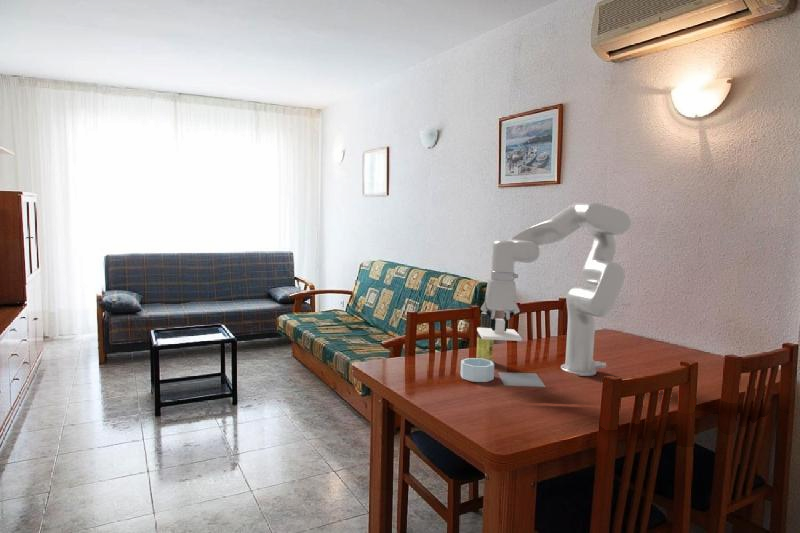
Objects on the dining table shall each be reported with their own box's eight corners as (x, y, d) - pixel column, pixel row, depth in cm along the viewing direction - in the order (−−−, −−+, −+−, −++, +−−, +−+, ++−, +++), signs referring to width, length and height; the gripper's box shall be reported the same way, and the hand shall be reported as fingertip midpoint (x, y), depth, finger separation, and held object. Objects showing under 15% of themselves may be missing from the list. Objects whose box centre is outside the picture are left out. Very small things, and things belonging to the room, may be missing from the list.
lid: (513, 332, 187) (514, 316, 187) (521, 341, 174) (522, 324, 174) (476, 330, 187) (477, 315, 187) (482, 339, 174) (483, 322, 174)
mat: (535, 375, 189) (536, 373, 189) (545, 389, 175) (545, 386, 175) (497, 374, 189) (497, 372, 189) (504, 387, 175) (504, 385, 175)
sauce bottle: (492, 367, 198) (494, 315, 195) (475, 366, 199) (477, 314, 197) (492, 362, 204) (495, 311, 202) (476, 361, 205) (478, 310, 203)
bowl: (489, 374, 189) (489, 358, 189) (495, 384, 178) (496, 367, 178) (459, 374, 189) (459, 357, 188) (463, 383, 178) (464, 366, 177)
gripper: (524, 276, 183) (520, 328, 184) (476, 274, 183) (473, 326, 184) (529, 279, 175) (525, 333, 177) (479, 277, 175) (476, 331, 177)
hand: (498, 329), depth 181 cm, fingers closed on lid, 3 cm apart
